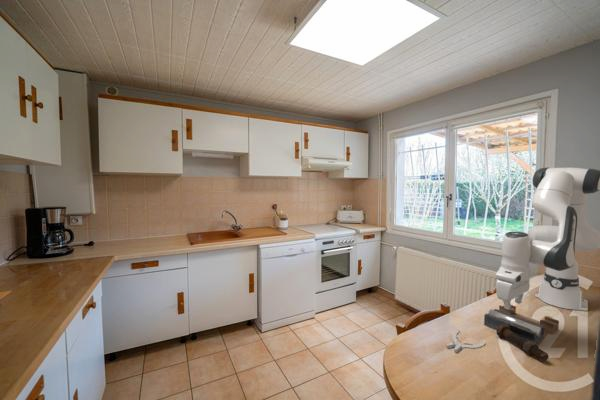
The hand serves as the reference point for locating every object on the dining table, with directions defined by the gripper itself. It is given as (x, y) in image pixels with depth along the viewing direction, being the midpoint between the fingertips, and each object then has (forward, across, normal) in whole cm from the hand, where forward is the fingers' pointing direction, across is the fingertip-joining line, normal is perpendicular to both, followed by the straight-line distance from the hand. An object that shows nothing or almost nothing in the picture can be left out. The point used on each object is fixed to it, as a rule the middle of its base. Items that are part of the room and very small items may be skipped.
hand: (513, 305), depth 100 cm
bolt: (+10, +11, +7) cm, 17 cm away
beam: (+10, -13, 0) cm, 17 cm away
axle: (+7, 0, 0) cm, 7 cm away
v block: (+10, +1, 0) cm, 10 cm away
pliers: (+10, +27, -5) cm, 30 cm away
